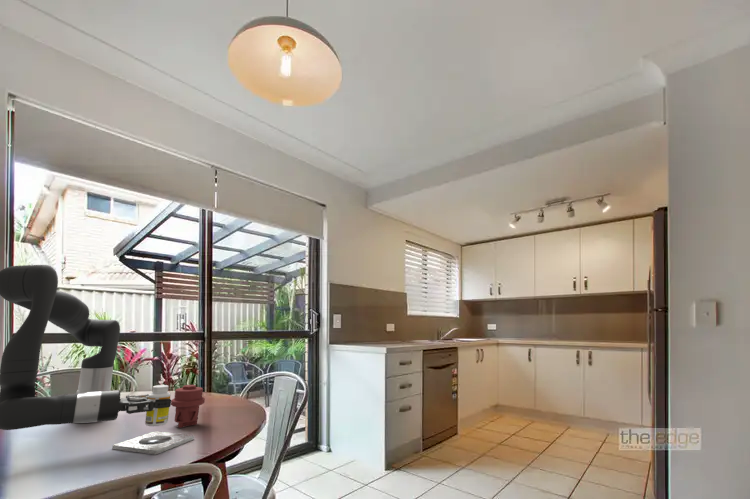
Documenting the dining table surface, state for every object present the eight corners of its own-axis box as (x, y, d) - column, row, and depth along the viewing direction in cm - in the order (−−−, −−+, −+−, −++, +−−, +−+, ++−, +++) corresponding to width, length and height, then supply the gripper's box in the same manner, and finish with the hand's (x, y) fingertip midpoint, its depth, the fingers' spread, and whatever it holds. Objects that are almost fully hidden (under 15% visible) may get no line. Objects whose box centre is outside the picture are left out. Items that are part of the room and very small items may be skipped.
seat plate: (112, 449, 105) (112, 444, 106) (154, 434, 119) (154, 431, 119) (155, 454, 102) (156, 450, 102) (193, 439, 115) (194, 435, 115)
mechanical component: (208, 422, 134) (189, 430, 124) (182, 420, 136) (161, 428, 126) (212, 384, 136) (193, 388, 126) (186, 382, 138) (165, 387, 128)
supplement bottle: (170, 421, 114) (174, 384, 116) (163, 426, 109) (168, 387, 110) (149, 422, 113) (153, 384, 115) (141, 427, 108) (146, 387, 110)
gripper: (99, 395, 99) (174, 390, 108) (99, 387, 110) (167, 383, 120) (94, 427, 97) (171, 420, 107) (95, 416, 109) (164, 410, 118)
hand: (168, 400), depth 113 cm, fingers closed on supplement bottle, 5 cm apart
